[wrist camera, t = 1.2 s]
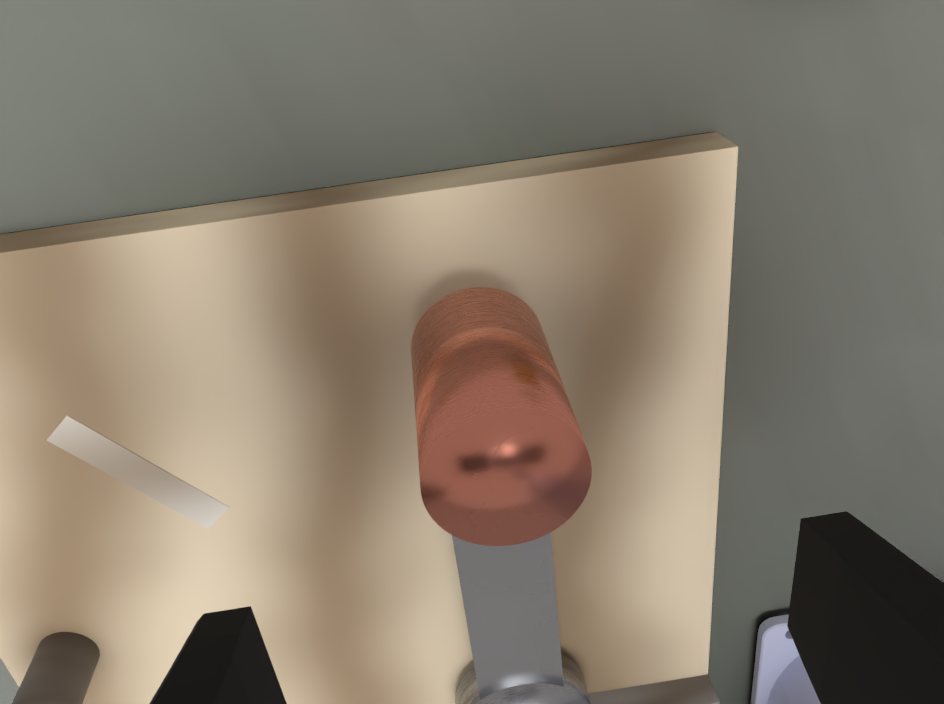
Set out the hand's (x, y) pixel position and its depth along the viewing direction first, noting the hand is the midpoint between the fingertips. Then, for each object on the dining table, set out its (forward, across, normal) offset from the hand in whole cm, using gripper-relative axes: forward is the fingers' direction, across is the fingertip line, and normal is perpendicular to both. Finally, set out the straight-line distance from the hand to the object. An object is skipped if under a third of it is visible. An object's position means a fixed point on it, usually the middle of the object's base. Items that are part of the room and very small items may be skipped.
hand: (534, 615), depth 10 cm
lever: (+8, 0, +7) cm, 11 cm away
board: (+10, +4, +8) cm, 13 cm away
